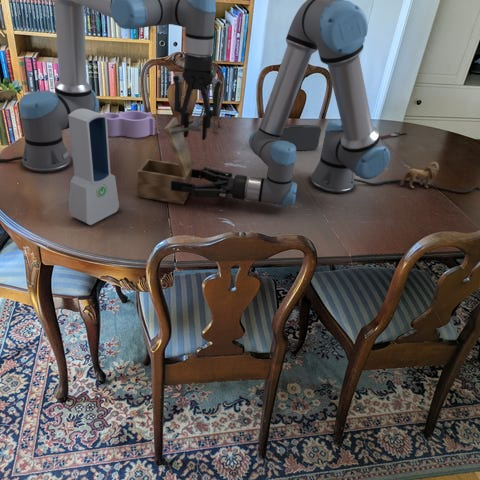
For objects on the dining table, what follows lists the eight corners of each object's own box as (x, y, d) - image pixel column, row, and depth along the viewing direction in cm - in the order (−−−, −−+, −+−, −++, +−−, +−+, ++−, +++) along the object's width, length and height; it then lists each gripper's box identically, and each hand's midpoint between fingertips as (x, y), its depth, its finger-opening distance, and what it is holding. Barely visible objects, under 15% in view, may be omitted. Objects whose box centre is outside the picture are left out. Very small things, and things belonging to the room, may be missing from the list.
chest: (137, 196, 145) (137, 170, 141) (147, 183, 153) (147, 158, 149) (183, 204, 145) (185, 179, 140) (190, 190, 153) (192, 166, 148)
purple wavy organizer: (104, 138, 183) (103, 121, 179) (102, 127, 192) (100, 111, 189) (155, 137, 189) (155, 120, 185) (150, 126, 199) (150, 110, 195)
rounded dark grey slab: (315, 147, 196) (319, 124, 190) (317, 149, 194) (322, 126, 188) (264, 149, 189) (267, 125, 183) (266, 152, 187) (269, 127, 181)
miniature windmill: (215, 133, 199) (220, 59, 183) (196, 130, 200) (199, 56, 184) (220, 126, 207) (225, 55, 190) (201, 123, 208) (205, 52, 191)
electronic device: (87, 227, 129) (77, 121, 112) (68, 218, 132) (56, 113, 115) (120, 210, 138) (114, 110, 122) (101, 202, 141) (94, 103, 125)
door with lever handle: (164, 128, 132) (192, 120, 130) (172, 118, 141) (199, 110, 138) (183, 177, 140) (210, 171, 137) (190, 164, 148) (216, 158, 146)
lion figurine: (427, 181, 177) (434, 159, 172) (436, 187, 173) (444, 165, 168) (395, 184, 172) (401, 161, 167) (403, 190, 168) (411, 167, 163)
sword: (403, 131, 224) (404, 129, 223) (408, 133, 222) (409, 131, 221) (360, 143, 208) (360, 140, 207) (365, 145, 206) (366, 142, 205)
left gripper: (233, 55, 128) (226, 136, 140) (169, 47, 129) (168, 128, 141) (229, 61, 121) (222, 145, 134) (162, 52, 122) (162, 137, 135)
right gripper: (240, 216, 137) (166, 205, 138) (249, 183, 156) (183, 174, 157) (242, 193, 133) (166, 182, 134) (251, 162, 152) (184, 153, 153)
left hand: (195, 136), depth 138 cm, fingers open, 5 cm apart
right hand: (175, 178), depth 146 cm, fingers closed on chest, 10 cm apart
